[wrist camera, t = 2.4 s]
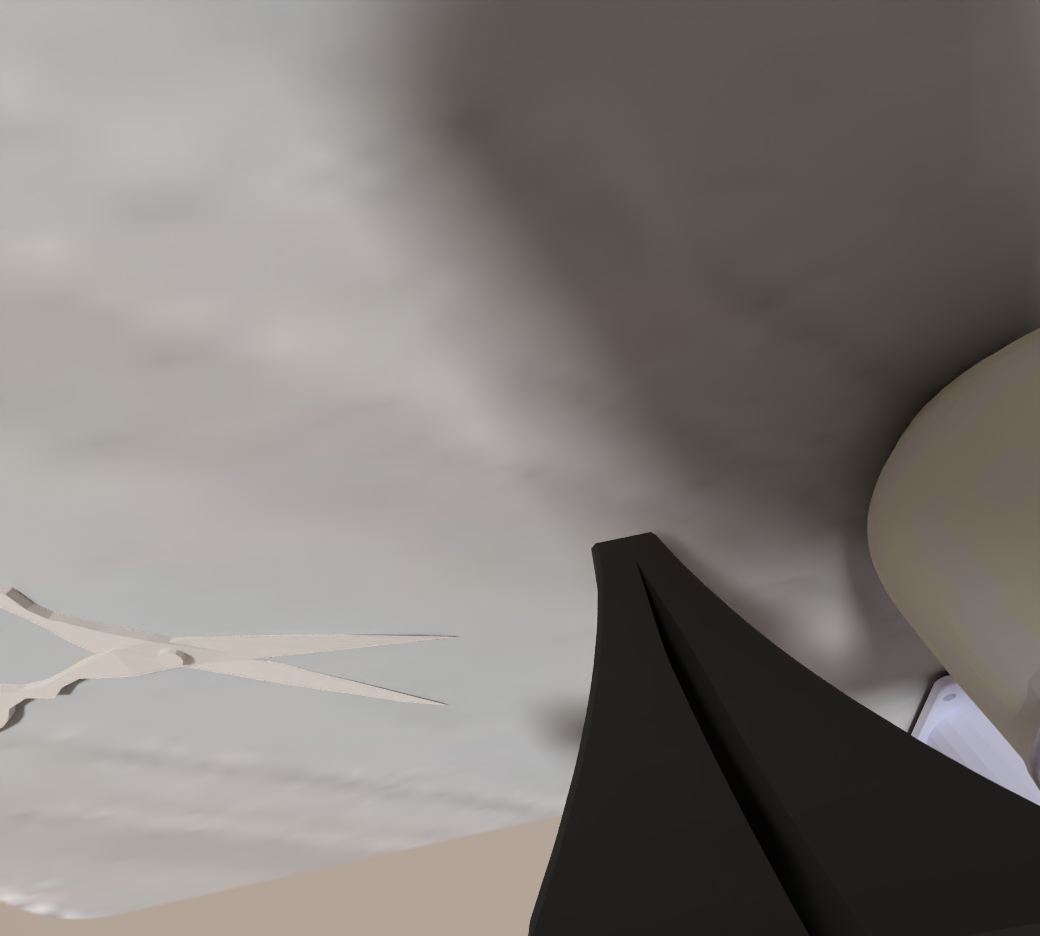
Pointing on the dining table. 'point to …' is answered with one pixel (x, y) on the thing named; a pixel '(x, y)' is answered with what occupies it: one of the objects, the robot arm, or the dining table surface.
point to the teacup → (972, 536)
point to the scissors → (184, 655)
